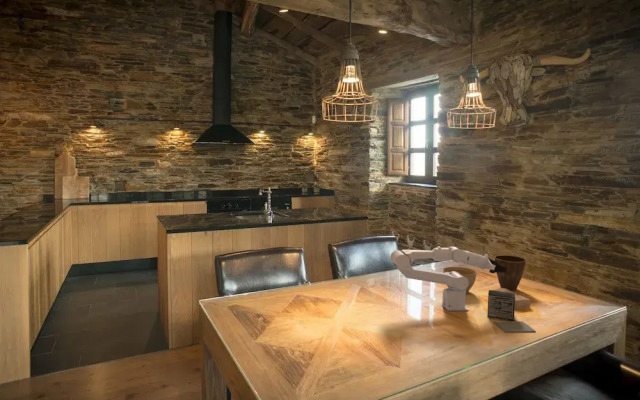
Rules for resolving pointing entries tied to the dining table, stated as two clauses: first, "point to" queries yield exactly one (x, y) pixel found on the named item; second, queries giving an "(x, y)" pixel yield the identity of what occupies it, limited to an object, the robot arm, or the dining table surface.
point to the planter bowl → (464, 274)
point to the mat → (514, 326)
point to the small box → (501, 305)
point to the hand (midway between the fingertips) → (501, 267)
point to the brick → (518, 300)
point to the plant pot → (510, 271)
